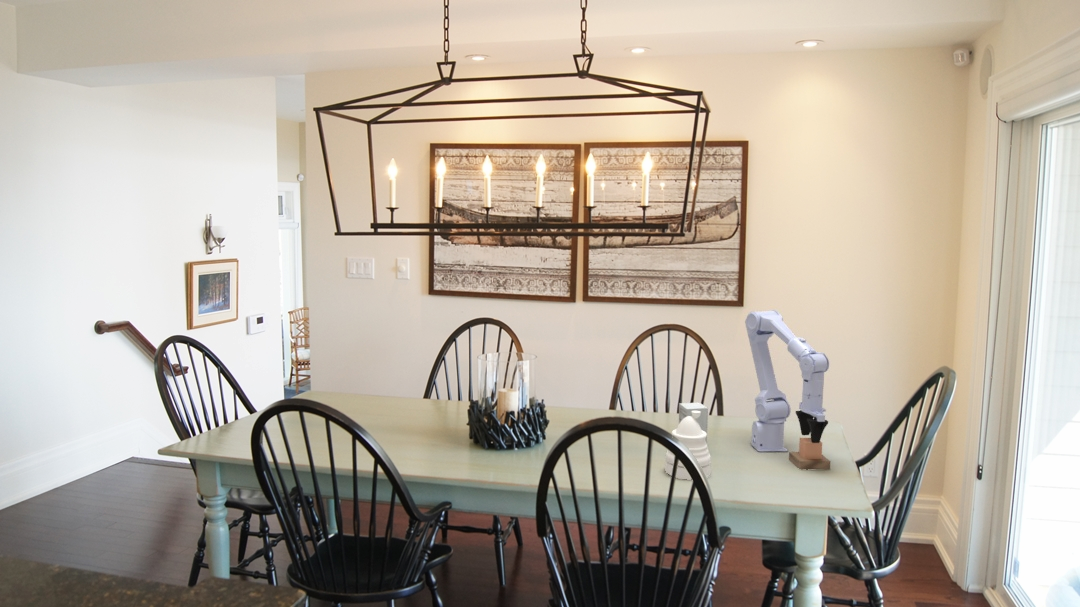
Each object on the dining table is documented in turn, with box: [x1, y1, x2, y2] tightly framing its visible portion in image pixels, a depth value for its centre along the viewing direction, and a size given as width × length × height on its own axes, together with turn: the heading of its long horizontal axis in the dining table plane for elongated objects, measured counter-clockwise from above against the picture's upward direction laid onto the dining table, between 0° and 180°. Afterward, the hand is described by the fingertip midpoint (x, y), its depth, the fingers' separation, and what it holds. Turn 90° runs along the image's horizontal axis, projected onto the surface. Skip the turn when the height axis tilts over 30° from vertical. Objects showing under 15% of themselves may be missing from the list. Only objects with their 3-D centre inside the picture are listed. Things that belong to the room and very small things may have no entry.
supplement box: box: [678, 402, 709, 444], centre depth 248 cm, size 7×7×13 cm
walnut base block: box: [788, 451, 831, 471], centre depth 228 cm, size 9×9×3 cm
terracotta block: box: [798, 437, 823, 459], centre depth 227 cm, size 5×5×5 cm
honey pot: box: [664, 411, 712, 481], centre depth 219 cm, size 13×13×18 cm
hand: (810, 438), depth 227 cm, fingers open, 7 cm apart
